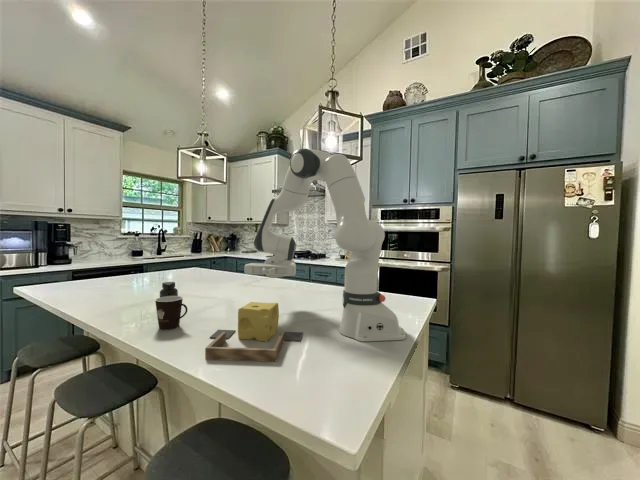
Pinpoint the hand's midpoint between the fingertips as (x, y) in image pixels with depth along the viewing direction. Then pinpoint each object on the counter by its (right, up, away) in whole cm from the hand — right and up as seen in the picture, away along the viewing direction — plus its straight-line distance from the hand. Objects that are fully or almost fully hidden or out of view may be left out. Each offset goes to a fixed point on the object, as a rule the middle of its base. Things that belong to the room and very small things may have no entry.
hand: (266, 272), depth 108 cm
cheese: (-1, -20, -12) cm, 23 cm away
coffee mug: (-32, -19, -6) cm, 38 cm away
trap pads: (-1, -20, -13) cm, 23 cm away
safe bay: (-1, -20, -24) cm, 31 cm away
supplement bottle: (-44, -18, +14) cm, 49 cm away
